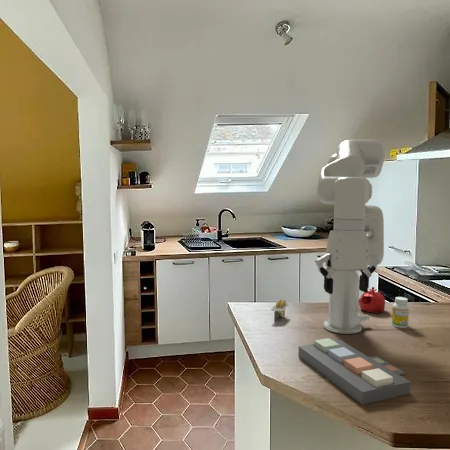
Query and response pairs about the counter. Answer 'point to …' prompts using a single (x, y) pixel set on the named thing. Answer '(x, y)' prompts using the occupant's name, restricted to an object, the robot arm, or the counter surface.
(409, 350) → the counter surface
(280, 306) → the platform
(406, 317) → the supplement bottle
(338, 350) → the blue key
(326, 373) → the keyguard frame
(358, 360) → the terracotta key
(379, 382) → the cream key
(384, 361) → the card
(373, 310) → the pomegranate
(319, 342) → the sage key
